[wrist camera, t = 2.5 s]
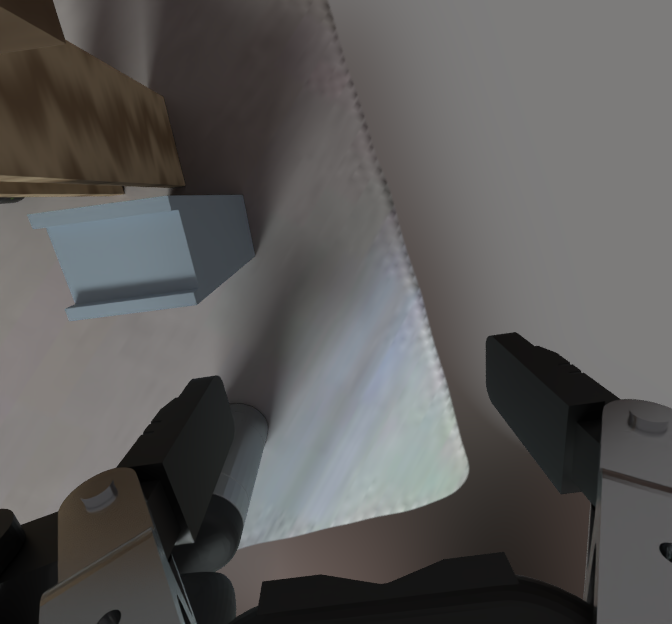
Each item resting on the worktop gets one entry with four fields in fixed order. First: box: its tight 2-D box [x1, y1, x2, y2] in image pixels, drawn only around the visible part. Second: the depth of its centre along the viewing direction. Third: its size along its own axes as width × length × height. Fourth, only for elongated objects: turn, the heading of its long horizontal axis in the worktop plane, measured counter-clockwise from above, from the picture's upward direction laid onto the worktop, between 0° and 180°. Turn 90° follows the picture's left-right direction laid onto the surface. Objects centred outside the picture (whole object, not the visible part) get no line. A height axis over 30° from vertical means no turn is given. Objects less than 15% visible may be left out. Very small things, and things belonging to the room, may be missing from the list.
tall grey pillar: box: [27, 195, 255, 321], centre depth 36 cm, size 8×10×22 cm
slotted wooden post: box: [0, 40, 186, 197], centre depth 28 cm, size 10×10×32 cm
